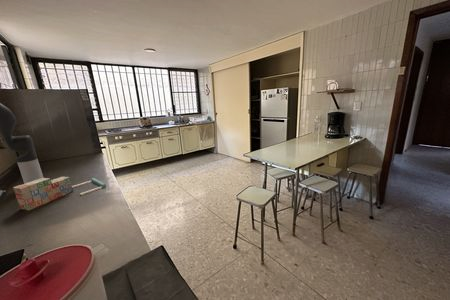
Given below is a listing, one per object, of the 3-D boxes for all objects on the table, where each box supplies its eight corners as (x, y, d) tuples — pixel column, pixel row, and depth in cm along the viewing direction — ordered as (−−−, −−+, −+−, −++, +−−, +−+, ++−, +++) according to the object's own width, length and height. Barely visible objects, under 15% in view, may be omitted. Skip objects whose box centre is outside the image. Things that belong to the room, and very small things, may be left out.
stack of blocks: (66, 190, 113) (61, 171, 110) (73, 191, 111) (68, 172, 108) (20, 209, 93) (12, 187, 90) (28, 211, 91) (20, 188, 88)
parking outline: (70, 187, 116) (70, 184, 115) (94, 180, 126) (93, 177, 125) (81, 195, 105) (80, 192, 104) (106, 186, 115) (105, 183, 114)
